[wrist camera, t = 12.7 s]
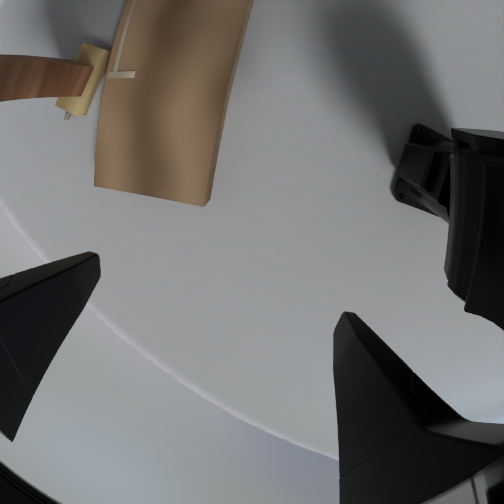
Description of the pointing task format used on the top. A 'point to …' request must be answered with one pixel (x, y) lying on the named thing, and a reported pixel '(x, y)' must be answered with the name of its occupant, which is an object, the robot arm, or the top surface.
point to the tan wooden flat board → (168, 96)
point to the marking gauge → (55, 78)
